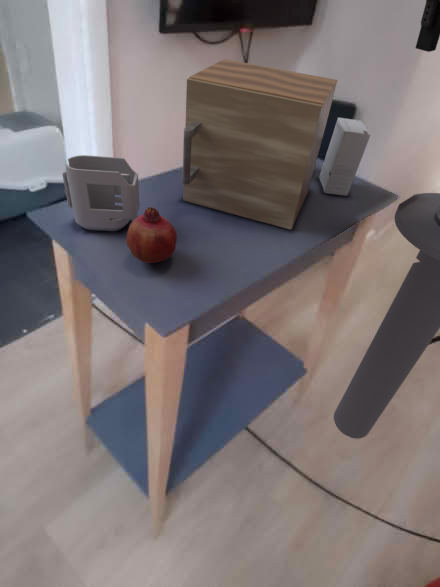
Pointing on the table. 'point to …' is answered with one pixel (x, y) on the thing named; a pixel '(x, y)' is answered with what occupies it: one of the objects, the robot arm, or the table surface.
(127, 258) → the table surface
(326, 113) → the cupboard
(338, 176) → the cosmetic box
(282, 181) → the cupboard door
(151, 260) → the fruit
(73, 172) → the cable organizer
